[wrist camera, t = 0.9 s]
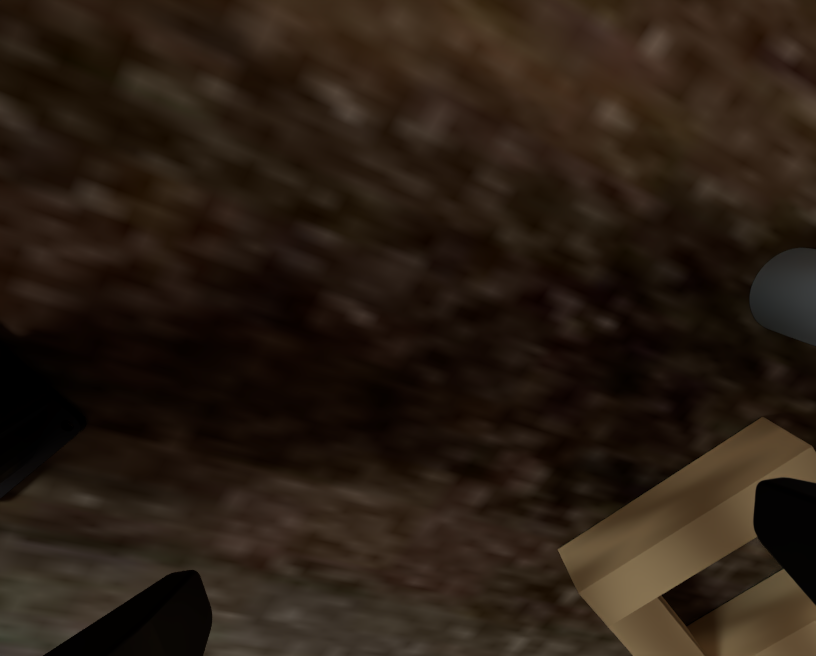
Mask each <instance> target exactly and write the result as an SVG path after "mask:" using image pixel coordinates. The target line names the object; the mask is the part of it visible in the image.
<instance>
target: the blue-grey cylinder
mask: <svg viewBox="0 0 816 656" xmlns="http://www.w3.org/2000/svg"><path fill="white" fill-rule="evenodd" d="M749 303H750V309H751V312H752V314H753V316H754V318H755V319H756V321H757V322H758V323H759V324H760V325H762V326H763V327H765V328H767V329H769V330H772V331H775V332H778V333H780V334H783V335H786V336H789V337H791V338H794V339H797V340H800V341H802V342H805V343H808V344H811V345H813V346H816V249H810V248H794V249H790V250H787V251H784V252H782V253H780V254H778V255H777V256H775V257H773V258H772V259H771V260H770V261H768V262H767V263H766V264H765V265H764V266H763V267H762V269H761V270H760V271H759V273H758V274H757V276H756V278H755V280H754V282H753V284H752V287H751V291H750V299H749Z"/></svg>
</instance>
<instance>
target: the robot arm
mask: <svg viewBox="0 0 816 656" xmlns="http://www.w3.org/2000/svg"><path fill="white" fill-rule="evenodd" d="M67 420H69V421H71V422H72V423H73V425H74V426H71V425H69V424H68V422H67ZM85 426H86V419H85V417H84V416H83V415H82V413H80V412H79V411H78V410H77V409H76V408H75V407H74V406H72V405H71V404H70V403H69V402H68V401H67V400H66V399H65V398H63V397H62V396H61V395H60V394H59V393H58V392H57V391H55V390H54V389H53V388H52V387H51V386H50V385H49V384H47V383H46V382H45V381H44V380H43V379H42V378H41V377H39V376H38V375H37V374H36V373H35V372H34V371H33V370H32V369H30V368H29V367H28V366H27V365H26V364H25V363H24V362H22V361H21V360H20V359H19V358H18V357H17V356H16V355H14V354H13V353H12V352H11V351H10V350H9V349H8V348H6V347H5V346H4V345H3V344H2V343H1V342H0V499H1V498H2V497H3V496H4V495H5V494H7V493H8V492H9V491H10V490H11V489H13V488H14V487H15V486H16V485H17V484H19V483H20V482H21V481H22V480H23V479H24V478H26V477H27V476H28V475H29V474H30V473H32V472H33V471H34V470H35V469H36V468H38V467H39V466H40V465H41V464H42V463H44V462H45V461H46V460H47V459H48V458H50V457H51V456H52V455H53V454H54V453H56V452H57V451H58V450H59V449H60V448H62V447H63V446H64V445H65V444H66V443H68V442H69V441H70V440H71V439H72V438H74V437H75V436H76V435H77V434H78V433H79V432H81V431H82V430H83V429H84V428H85ZM753 526H754V530H755V533H756V535H757V537H758V539H759V540H760V542H761V543H762V544H763V546H764V547H765V548H766V549H767V550H768V551H769V553H770V554H771V555H772V556H773V557H774V558H775V559H776V561H777V562H778V563H779V564H780V565H781V566H782V567H783V569H784V570H785V571H786V572H787V573H788V574H789V576H790V577H791V578H792V579H793V580H794V581H795V582H796V584H797V585H798V586H799V587H800V588H801V589H802V590H803V592H804V593H805V594H806V595H807V596H808V597H809V599H810V600H811V601H812V602H813V603H814V604H815V605H816V483H813V482H808V481H803V480H798V479H793V478H787V477H780V478H774V479H767V480H762V481H760V482H759V483H758V484H757V486H756V491H755V503H754V515H753ZM211 626H212V610H211V606H210V603H209V600H208V597H207V594H206V591H205V588H204V585H203V583H202V580H201V577H200V575H199V573H198V572H197V571H195V570H187V571H181V572H174V573H171V574H169V575H167V576H165V577H164V578H162V579H161V580H159V581H157V582H156V583H154V584H153V585H151V586H150V587H148V588H147V589H145V590H144V591H142V592H141V593H139V594H137V595H136V596H134V597H133V598H131V599H130V600H128V601H127V602H125V603H124V604H122V605H120V606H119V607H117V608H116V609H114V610H113V611H111V612H110V613H108V614H107V615H105V616H104V617H102V618H100V619H99V620H97V621H96V622H94V623H93V624H91V625H90V626H88V627H87V628H85V629H83V630H82V631H80V632H79V633H77V634H76V635H74V636H73V637H71V638H70V639H68V640H67V641H65V642H63V643H62V644H60V645H59V646H57V647H56V648H54V649H53V650H51V651H50V652H48V653H46V654H45V655H43V656H203V654H204V651H205V647H206V644H207V641H208V637H209V634H210V630H211Z"/></svg>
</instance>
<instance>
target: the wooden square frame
mask: <svg viewBox="0 0 816 656" xmlns="http://www.w3.org/2000/svg"><path fill="white" fill-rule="evenodd" d="M780 477H787V478H793V479H798V480H803V481H808V482H813V483H816V452H815V450H814V449H813V447H812V446H811V445H809V444H808V443H806V442H804V441H803V440H801V439H799V438H798V437H796V436H794V435H793V434H791V433H789V432H788V431H786V430H784V429H783V428H781V427H779V426H778V425H776V424H774V423H773V422H771V421H769V420H768V419H766V418H764V417H761V418H760V419H758V420H757V421H755V422H754V423H752V424H751V425H749V426H747V427H746V428H744V429H743V430H741V431H740V432H738V433H737V434H735V435H734V436H732V437H730V438H729V439H727V440H726V441H724V442H723V443H721V444H720V445H718V446H717V447H715V448H714V449H712V450H710V451H709V452H707V453H706V454H704V455H703V456H701V457H700V458H698V459H697V460H695V461H693V462H692V463H690V464H689V465H687V466H686V467H684V468H683V469H681V470H680V471H678V472H677V473H675V474H673V475H672V476H670V477H669V478H667V479H666V480H664V481H663V482H661V483H660V484H658V485H656V486H655V487H653V488H652V489H650V490H649V491H647V492H646V493H644V494H643V495H641V496H639V497H638V498H636V499H635V500H633V501H632V502H630V503H629V504H627V505H626V506H624V507H623V508H621V509H619V510H618V511H616V512H615V513H613V514H612V515H610V516H609V517H607V518H606V519H604V520H602V521H601V522H599V523H598V524H596V525H595V526H593V527H592V528H590V529H589V530H587V531H586V532H584V533H582V534H581V535H579V536H578V537H576V538H575V539H573V540H572V541H570V542H569V543H567V544H565V545H564V546H562V547H561V548H559V549H558V551H559V553H560V556H561V558H562V560H563V562H564V564H565V566H566V568H567V570H568V572H569V574H570V576H571V578H572V581H573V583H574V585H575V587H576V589H577V591H578V593H579V594H580V595H581V596H582V598H583V599H584V600H585V601H586V602H587V603H588V604H589V606H590V607H591V608H592V609H593V610H594V611H595V612H596V614H597V615H598V616H599V617H600V618H601V619H602V620H603V622H604V623H605V624H606V625H607V626H608V627H609V628H610V630H611V631H612V632H613V633H614V634H615V635H616V636H617V638H618V639H619V640H620V641H621V642H622V643H623V644H624V646H625V647H626V648H627V649H628V650H629V651H630V652H631V654H632V655H633V656H816V605H815V604H814V603H813V602H812V601H811V600H810V599H809V597H808V596H807V595H806V594H805V593H804V592H803V590H802V589H801V588H800V587H799V586H798V585H797V584H796V582H795V581H794V580H793V579H792V578H791V577H790V576H789V574H788V573H787V572H786V571H785V570H784V569H782V570H781V571H779V572H777V573H776V574H774V575H772V576H771V577H769V578H767V579H766V580H764V581H762V582H761V583H759V584H757V585H755V586H754V587H752V588H750V589H749V590H747V591H745V592H744V593H742V594H740V595H739V596H737V597H735V598H734V599H732V600H730V601H729V602H727V603H725V604H723V605H722V606H720V607H718V608H717V609H715V610H713V611H712V612H710V613H708V614H707V615H705V616H703V617H702V618H700V619H698V620H696V621H695V622H693V623H691V624H690V625H688V626H686V625H685V624H684V623H683V622H682V620H681V619H680V618H679V617H678V615H677V614H676V613H675V612H674V610H673V609H672V608H671V607H670V605H669V604H668V603H667V602H666V600H665V599H664V598H663V597H662V594H664V593H665V592H667V591H669V590H670V589H672V588H673V587H675V586H677V585H678V584H680V583H682V582H683V581H685V580H687V579H688V578H690V577H692V576H693V575H695V574H696V573H698V572H700V571H701V570H703V569H705V568H706V567H708V566H710V565H711V564H713V563H715V562H716V561H718V560H719V559H721V558H723V557H724V556H726V555H728V554H729V553H731V552H733V551H734V550H736V549H738V548H739V547H741V546H742V545H744V544H746V543H747V542H749V541H751V540H752V539H754V538H756V537H757V535H756V533H755V530H754V526H753V515H754V503H755V491H756V486H757V484H758V483H759V482H760V481H762V480H767V479H774V478H780Z"/></svg>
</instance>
